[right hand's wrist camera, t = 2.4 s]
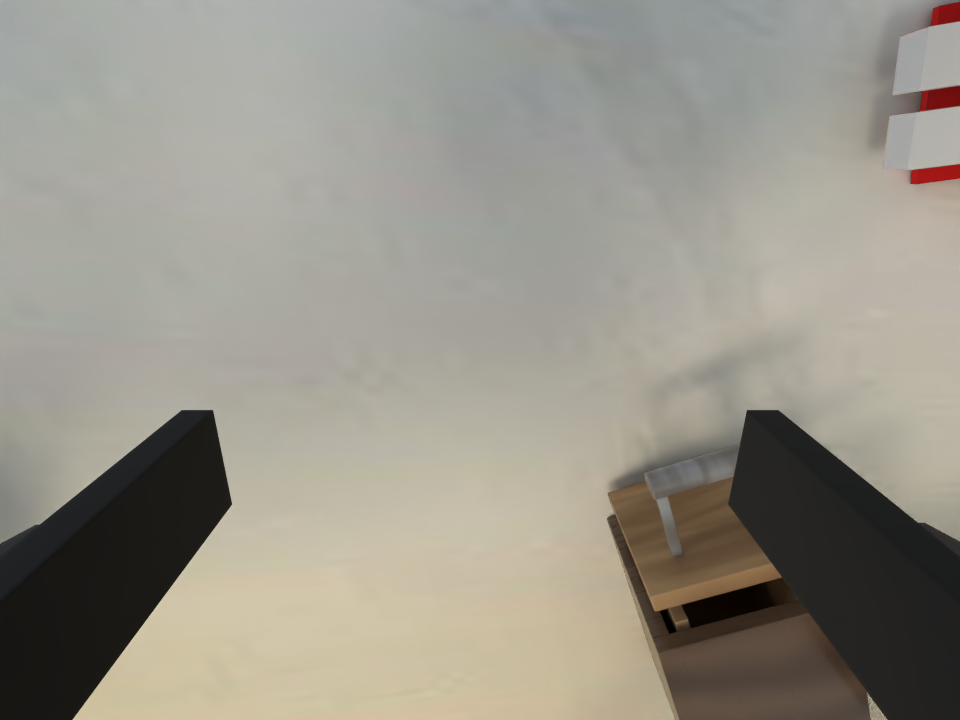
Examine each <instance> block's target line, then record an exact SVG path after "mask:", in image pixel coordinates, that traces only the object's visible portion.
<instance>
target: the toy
mask: <svg viewBox="0 0 960 720" xmlns="http://www.w3.org/2000/svg"><path fill="white" fill-rule="evenodd" d="M920 91H922V99H921V106H920V112H913V113H906V114H899V115H892V116H889V122H888V130H887V137H886V145H885V152H884V159H883V167H882V169H883V170H912V175H911V183H910V184H921V183H929V182H936V181H944V180H951V179H959V178H960V2H957V3H952V4H947V5H942V6H938V7H936V8H934V9H933V14H932V22H931V26H930V27H927V28H924V29H921V30H918V31H915V32H912V33H909V34H906V35H903V36H901V37H900V41H899V49H898V56H897V64H896V71H895V78H894V86H893V93H892V96H893V95H900V94H907V93H913V92H920Z"/></svg>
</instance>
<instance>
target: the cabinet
mask: <svg viewBox="0 0 960 720" xmlns="http://www.w3.org/2000/svg"><path fill="white" fill-rule="evenodd" d="M607 521H608V524H609V527H610V530H611V533H612V536H613V539H614V542H615V545H616V548H617V551H618V554H619V557H620V560H621V563H622V566H623V569H624V572H625V575H626V578H627V581H628V584H629V587H630V590H631V593H632V596H633V599H634V602H635V605H636V608H637V611H638V614H639V617H640V620H641V624H642V627H643V630H644V633H645V636H646V639H647V642H648V645H649V648H650V651H651V654H652V657H653V660H654V663H655V666H656V668H657V671H658V674H659V677H660V679H661V682H662V685H663V688H664V690H665V693H666V696H667V699H668V701H669V704H670V707H671V710H672V712H673V715H674V718H675V720H870V712H869V705H868V697H867V691H866V690H865V688H864V687H863V686H862V684H861V683H860V682H859V680H858V679H857V678H856V676H855V675H854V674H853V672H852V671H851V670H850V668H849V667H848V666H847V664H846V663H845V661H844V660H843V659H842V657H841V656H840V655H839V653H838V652H837V651H836V649H835V648H834V647H833V645H832V644H831V643H830V641H829V640H828V639H827V637H826V636H825V634H824V633H823V632H822V630H821V629H820V628H819V626H818V625H817V624H816V622H815V621H814V620H813V618H812V617H811V616H810V614H809V613H808V612H807V610H806V609H805V608H804V606H803V605H802V603H801V602H800V601H799V600H796V601H792V602H788V603H784V604H781V605H777V606H773V607H769V608H766V609H762V610H758V611H754V612H751V613H747V614H743V615H739V616H736V617H732V618H728V619H724V620H721V621H717V622H713V623H709V624H705V625H702V626H698V627H694V628H690V629H687V630H683V631H679V632H675V633H672V634H669V632H668V629H667V627H666V625H665V622H664V620H663V617H662V615H661V613H660V611H657V612H655V611H654V609H653V606H652V604H651V601H650V599H649V597H648V594H647V592H646V589H645V587H644V584H643V582H642V579H641V577H640V574H639V572H638V569H637V567H636V565H635V562H634V560H633V557H632V555H631V552H630V550H629V547H628V545H627V542H626V540H625V537H624V535H623V533H622V530H621V528H620V525H619V523H618V520H617V518H616V516H613V517H610V518H607Z"/></svg>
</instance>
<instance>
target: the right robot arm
mask: <svg viewBox="0 0 960 720" xmlns="http://www.w3.org/2000/svg"><path fill="white" fill-rule="evenodd" d="M231 505H232V502H231V497H230V492H229V487H228V482H227V477H226V472H225V467H224V462H223V457H222V452H221V447H220V442H219V438H218V433H217V428H216V423H215V418H214V413H213V410H182V411H180V412H179V413H178V414H177V415H175V416H174V417H173V418H172V419H170V420H169V421H168V422H167V423H165V424H164V425H163V426H162V427H160V428H159V429H158V430H157V431H155V432H154V433H153V434H152V435H150V436H149V437H148V438H147V439H146V440H144V441H143V442H142V443H141V444H139V445H138V446H137V447H136V448H134V449H133V450H132V451H131V452H129V453H128V454H127V455H126V456H124V457H123V458H122V459H121V460H119V461H118V462H117V463H116V464H115V465H113V466H112V467H111V468H110V469H108V470H107V471H106V472H105V473H103V474H102V475H101V476H100V477H98V478H97V479H96V480H95V481H93V482H92V483H91V484H90V485H88V486H87V487H86V488H85V489H84V490H82V491H81V492H80V493H79V494H77V495H76V496H75V497H74V498H72V499H71V500H70V501H69V502H67V503H66V504H65V505H64V506H62V507H61V508H60V509H59V510H57V511H56V512H55V513H54V514H52V515H51V516H50V517H49V518H48V519H46V520H45V521H44V522H43V523H41V524H40V525H35V526H33V527H31V528H29V529H27V530H25V531H23V532H22V533H20V534H18V535H16V536H14V537H12V538H10V539H8V540H7V541H5V542H3V543H1V544H0V720H72V719H73V718H74V717H75V715H76V714H77V713H78V711H79V710H80V709H81V707H82V706H83V705H84V703H85V702H86V701H87V699H88V698H89V697H90V695H91V694H92V692H93V691H94V690H95V688H96V687H97V686H98V684H99V683H100V682H101V680H102V679H103V678H104V676H105V675H106V674H107V672H108V671H109V670H110V668H111V667H112V666H113V664H114V663H115V661H116V660H117V659H118V657H119V656H120V655H121V653H122V652H123V651H124V649H125V648H126V647H127V645H128V644H129V643H130V641H131V640H132V639H133V637H134V636H135V634H136V633H137V632H138V630H139V629H140V628H141V626H142V625H143V624H144V622H145V621H146V620H147V618H148V617H149V616H150V614H151V613H152V612H153V610H154V609H155V608H156V606H157V605H158V603H159V602H160V601H161V599H162V598H163V597H164V595H165V594H166V593H167V591H168V590H169V589H170V587H171V586H172V585H173V583H174V582H175V581H176V579H177V578H178V576H179V575H180V574H181V572H182V571H183V570H184V568H185V567H186V566H187V564H188V563H189V562H190V560H191V559H192V558H193V556H194V555H195V554H196V552H197V551H198V550H199V548H200V547H201V545H202V544H203V543H204V541H205V540H206V539H207V537H208V536H209V535H210V533H211V532H212V531H213V529H214V528H215V527H216V525H217V524H218V523H219V521H220V520H221V518H222V517H223V516H224V514H225V513H226V512H227V510H228V509H229V508H230V506H231ZM728 505H729V506H730V508H731V509H732V510H733V512H734V513H735V514H736V516H737V517H738V518H739V520H740V521H741V523H742V524H743V525H744V527H745V528H746V529H747V531H748V532H749V533H750V535H751V536H752V537H753V539H754V540H755V541H756V543H757V544H758V545H759V547H760V548H761V550H762V551H763V552H764V554H765V555H766V556H767V558H768V559H769V560H770V562H771V563H772V564H773V566H774V567H775V568H776V570H777V571H778V572H779V574H780V575H781V576H782V578H783V579H784V581H785V582H786V583H787V585H788V586H789V587H790V589H791V590H792V591H793V593H794V594H795V595H796V597H797V598H798V599H799V601H800V602H801V603H802V605H803V606H804V608H805V609H806V610H807V612H808V613H809V614H810V616H811V617H812V618H813V620H814V621H815V622H816V624H817V625H818V626H819V628H820V629H821V630H822V632H823V633H824V634H825V636H826V637H827V639H828V640H829V641H830V643H831V644H832V645H833V647H834V648H835V649H836V651H837V652H838V653H839V655H840V656H841V657H842V659H843V660H844V661H845V663H846V664H847V666H848V667H849V668H850V670H851V671H852V672H853V674H854V675H855V676H856V678H857V679H858V680H859V682H860V683H861V684H862V686H863V687H864V688H865V690H866V691H867V692H868V694H869V695H870V697H871V698H872V699H873V701H874V702H875V703H876V705H877V706H878V707H879V709H880V710H881V711H882V713H883V714H884V715H885V717H886V718H887V719H888V720H960V542H959V541H958V540H956V539H954V538H952V537H950V536H948V535H946V534H944V533H943V532H941V531H939V530H937V529H935V528H933V527H931V526H929V525H928V524H926V523H917V522H916V521H915V520H914V519H912V518H911V517H910V516H909V515H908V514H906V513H905V512H904V511H903V510H901V509H900V508H899V507H898V506H896V505H895V504H894V503H893V502H891V501H890V500H889V499H888V498H886V497H885V496H884V495H883V494H881V493H880V492H879V491H878V490H876V489H875V488H874V487H873V486H872V485H870V484H869V483H868V482H867V481H865V480H864V479H863V478H862V477H860V476H859V475H858V474H857V473H855V472H854V471H853V470H852V469H850V468H849V467H848V466H847V465H845V464H844V463H843V462H842V461H841V460H839V459H838V458H837V457H836V456H834V455H833V454H832V453H831V452H829V451H828V450H827V449H826V448H824V447H823V446H822V445H821V444H819V443H818V442H817V441H816V440H814V439H813V438H812V437H811V436H810V435H808V434H807V433H806V432H805V431H803V430H802V429H801V428H800V427H798V426H797V425H796V424H795V423H793V422H792V421H791V420H790V419H788V418H787V417H786V416H785V415H783V414H782V413H781V412H780V411H778V410H747V413H746V418H745V423H744V428H743V433H742V438H741V442H740V447H739V452H738V457H737V462H736V467H735V472H734V477H733V482H732V487H731V492H730V497H729V502H728Z"/></svg>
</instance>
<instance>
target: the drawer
mask: <svg viewBox="0 0 960 720" xmlns="http://www.w3.org/2000/svg"><path fill="white" fill-rule="evenodd" d="M739 447H740V444H737V445H734V446H731V447H728V448H724V449H721V450H718V451H714V452H711V453H708V454H704V455H701V456H698V457H695V458H691V459H688V460H685V461H681V462H678V463H675V464H671V465H668V466H665V467H662V468H658V469H655V470H652V471H648V472H645V473H644V477H645V480H646V481H645V482H642V483H639V484H635V485H632V486H629V487H625V488H622V489H619V490H616V491H612V492H609V493H608V496H609V499H610V502H611V505H612V508H613V510H614V513H615V515H616V518H617V520H618V523H619V525H620V528H621V530H622V533H623V535H624V537H625V540H626V542H627V545H628V547H629V550H630V552H631V555H632V557H633V560H634V562H635V565H636V567H637V569H638V572H639V574H640V577H641V579H642V582H643V584H644V587H645V589H646V592H647V594H648V597H649V599H650V601H651V604H652V606H653V609H654V611H655V612H657V611H660V613H661V615H662V617H663V620H664V622H665V625H666V627H667V629H668V632H669V634H672V633H675V632H679V631H683V630H687V629H690V628H694V627H698V626H702V625H705V624H709V623H713V622H717V621H721V620H724V619H728V618H732V617H736V616H739V615H743V614H747V613H751V612H754V611H758V610H762V609H766V608H769V607H773V606H777V605H781V604H784V603H788V602H792V601H796V600H799V599H798V598H797V597H796V595H795V594H794V593H793V591H792V590H791V589H790V587H789V586H788V585H787V583H786V582H785V581H784V579H783V578H782V576H781V575H780V574H779V572H778V571H777V570H776V568H775V567H774V566H773V564H772V563H771V562H770V560H769V559H768V558H767V556H766V555H765V554H764V552H763V551H762V550H761V548H760V547H759V545H758V544H757V543H756V541H755V540H754V539H753V537H752V536H751V535H750V533H749V532H748V531H747V529H746V528H745V527H744V525H743V524H742V523H741V521H740V520H739V518H738V517H737V516H736V514H735V513H734V512H733V510H732V509H731V508H730V506H729V505H728V502H729V497H730V492H731V487H732V482H733V477H734V472H735V467H736V462H737V457H738V452H739Z"/></svg>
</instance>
